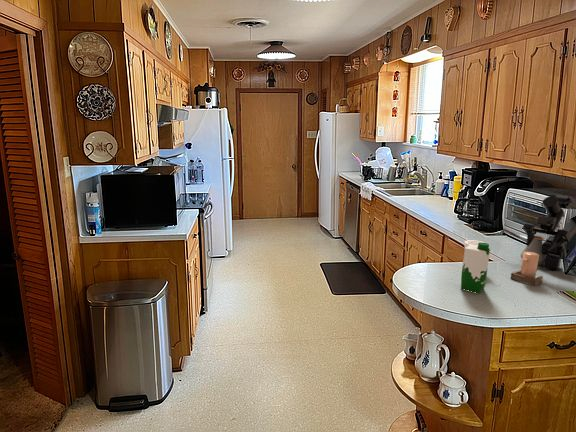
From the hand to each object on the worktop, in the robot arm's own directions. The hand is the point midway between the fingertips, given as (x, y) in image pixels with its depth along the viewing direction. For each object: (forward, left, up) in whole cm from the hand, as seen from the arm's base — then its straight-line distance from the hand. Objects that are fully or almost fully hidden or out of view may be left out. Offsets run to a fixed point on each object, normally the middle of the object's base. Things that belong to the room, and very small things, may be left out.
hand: (537, 247), depth 192 cm
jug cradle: (+7, +3, -13) cm, 15 cm away
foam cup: (+21, -14, -13) cm, 29 cm away
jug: (+8, +3, -13) cm, 16 cm away
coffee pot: (-12, -18, -13) cm, 25 cm away
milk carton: (+38, +4, -13) cm, 41 cm away
